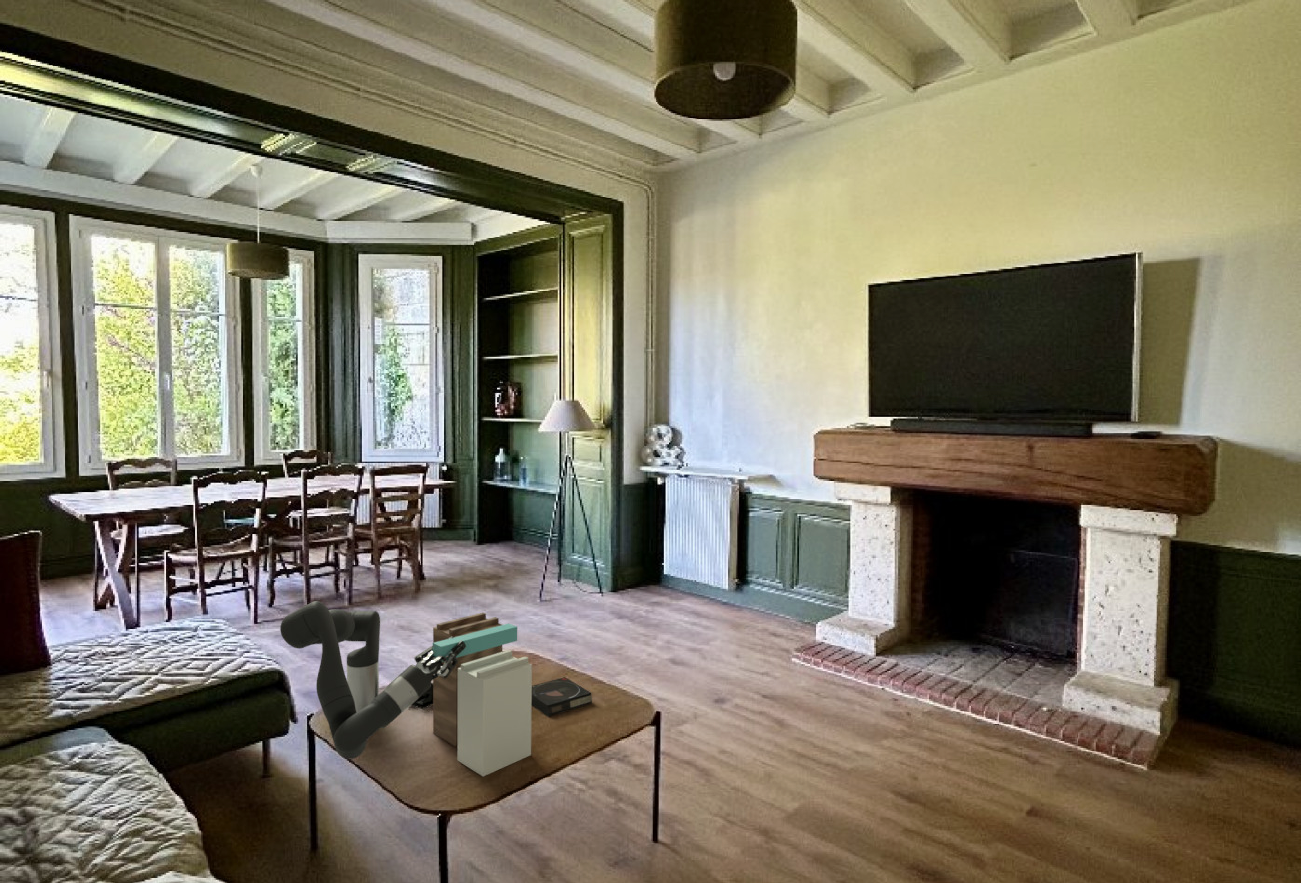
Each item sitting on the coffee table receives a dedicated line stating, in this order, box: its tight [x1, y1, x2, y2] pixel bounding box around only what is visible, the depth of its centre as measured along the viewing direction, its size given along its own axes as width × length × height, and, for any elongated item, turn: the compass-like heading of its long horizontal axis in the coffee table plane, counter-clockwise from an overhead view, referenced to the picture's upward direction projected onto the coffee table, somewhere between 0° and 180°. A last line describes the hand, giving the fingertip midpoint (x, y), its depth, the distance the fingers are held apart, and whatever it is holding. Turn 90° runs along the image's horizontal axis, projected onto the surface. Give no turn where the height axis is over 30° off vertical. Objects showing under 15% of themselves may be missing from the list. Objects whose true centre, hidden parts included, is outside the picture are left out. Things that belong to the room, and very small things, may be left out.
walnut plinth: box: [432, 612, 503, 748], centre depth 216 cm, size 16×12×34 cm
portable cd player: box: [531, 676, 593, 717], centre depth 239 cm, size 16×17×4 cm
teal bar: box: [432, 623, 518, 662], centre depth 195 cm, size 24×4×4 cm, turn 138°
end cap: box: [411, 682, 433, 710], centre depth 236 cm, size 10×7×7 cm
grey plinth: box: [456, 649, 533, 777], centre depth 200 cm, size 16×12×28 cm
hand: (458, 641), depth 190 cm, fingers closed on teal bar, 4 cm apart
